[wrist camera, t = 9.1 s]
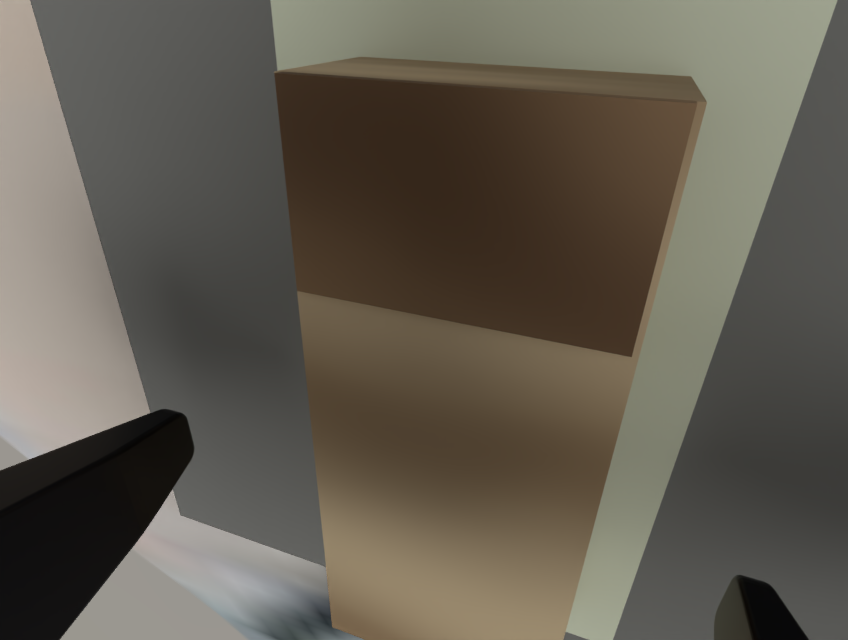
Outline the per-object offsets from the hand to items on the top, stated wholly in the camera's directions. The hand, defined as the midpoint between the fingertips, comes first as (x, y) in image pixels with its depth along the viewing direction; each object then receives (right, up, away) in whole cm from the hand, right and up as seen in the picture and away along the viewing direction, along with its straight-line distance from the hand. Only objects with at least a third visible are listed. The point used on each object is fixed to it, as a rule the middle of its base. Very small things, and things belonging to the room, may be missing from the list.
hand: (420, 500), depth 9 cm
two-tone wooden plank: (+1, +1, +3) cm, 3 cm away
